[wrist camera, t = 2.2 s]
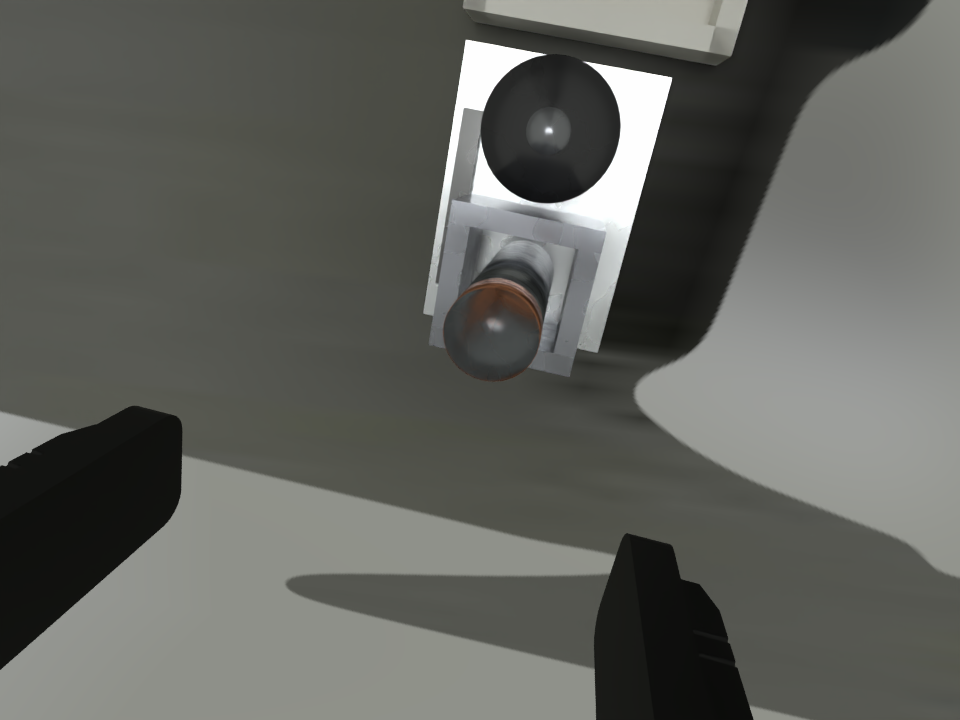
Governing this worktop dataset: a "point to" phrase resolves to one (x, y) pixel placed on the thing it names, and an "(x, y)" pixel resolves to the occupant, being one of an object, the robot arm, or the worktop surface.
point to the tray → (626, 23)
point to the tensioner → (544, 183)
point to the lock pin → (501, 314)
